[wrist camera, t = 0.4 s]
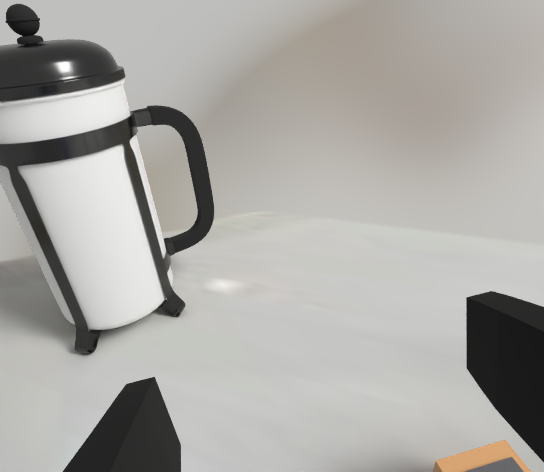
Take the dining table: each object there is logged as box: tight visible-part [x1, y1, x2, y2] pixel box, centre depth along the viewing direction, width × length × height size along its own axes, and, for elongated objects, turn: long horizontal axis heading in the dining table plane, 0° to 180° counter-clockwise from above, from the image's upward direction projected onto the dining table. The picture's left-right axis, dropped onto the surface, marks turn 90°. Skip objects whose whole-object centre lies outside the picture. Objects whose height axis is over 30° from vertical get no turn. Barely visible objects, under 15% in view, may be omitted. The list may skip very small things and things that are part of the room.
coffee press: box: [0, 4, 214, 354], centre depth 37 cm, size 17×16×30 cm
